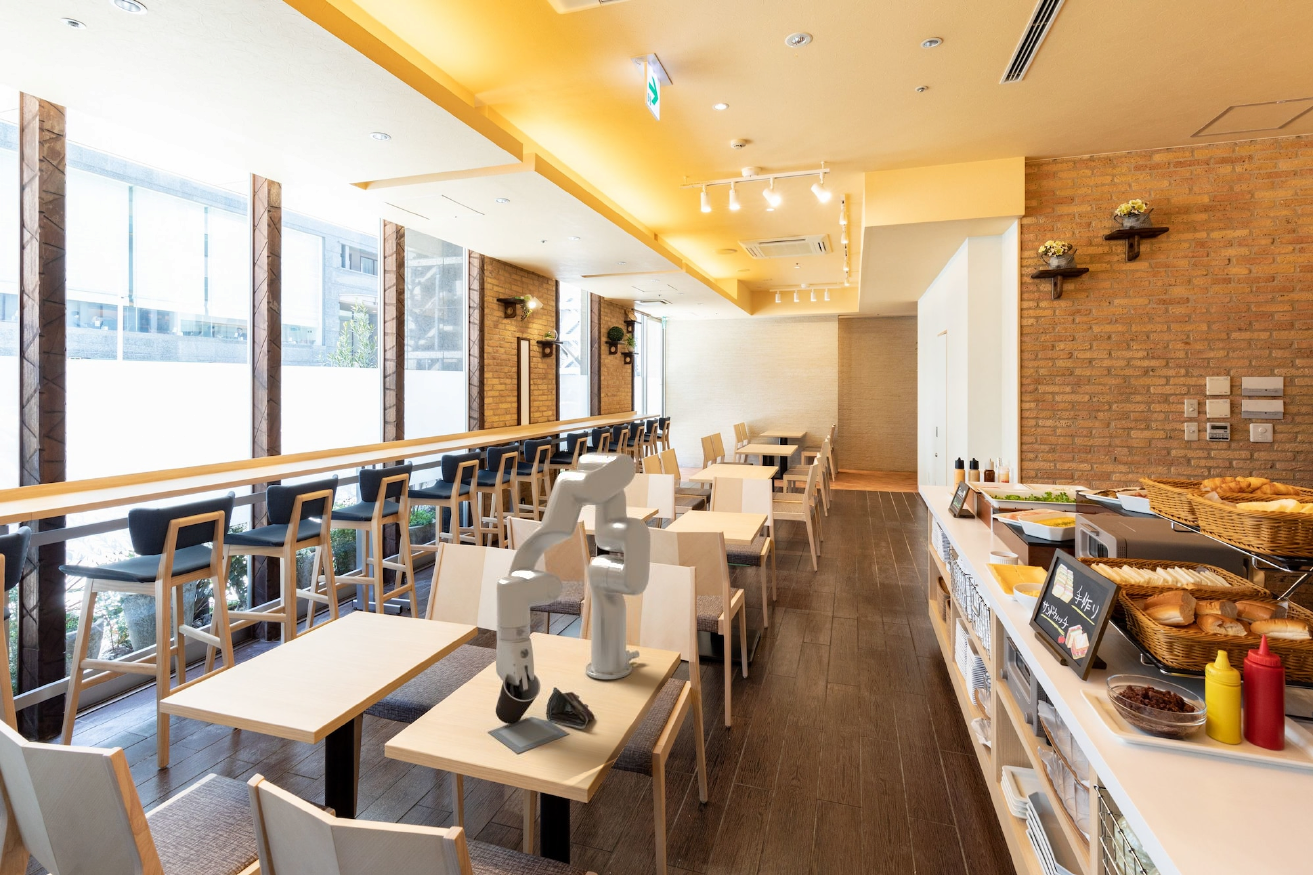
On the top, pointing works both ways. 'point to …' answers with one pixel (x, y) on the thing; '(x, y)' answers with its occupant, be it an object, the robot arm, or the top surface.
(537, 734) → the mat
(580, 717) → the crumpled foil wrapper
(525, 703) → the coffee mug
